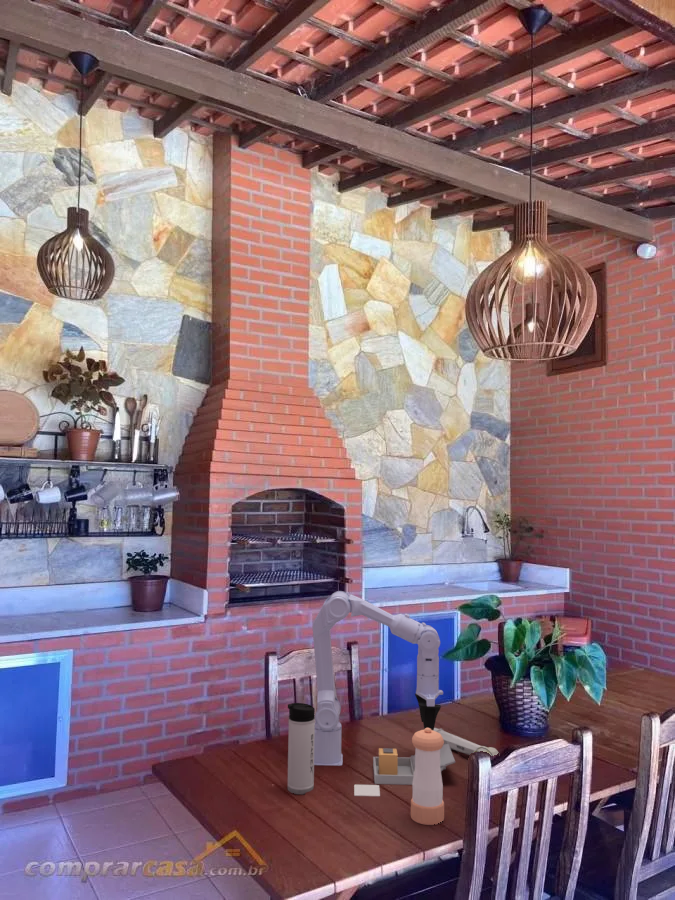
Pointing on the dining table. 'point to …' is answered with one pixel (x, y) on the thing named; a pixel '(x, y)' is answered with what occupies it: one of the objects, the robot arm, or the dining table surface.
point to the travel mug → (301, 748)
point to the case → (409, 768)
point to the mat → (366, 790)
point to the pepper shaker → (427, 778)
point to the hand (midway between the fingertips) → (427, 726)
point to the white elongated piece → (463, 744)
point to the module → (388, 761)
